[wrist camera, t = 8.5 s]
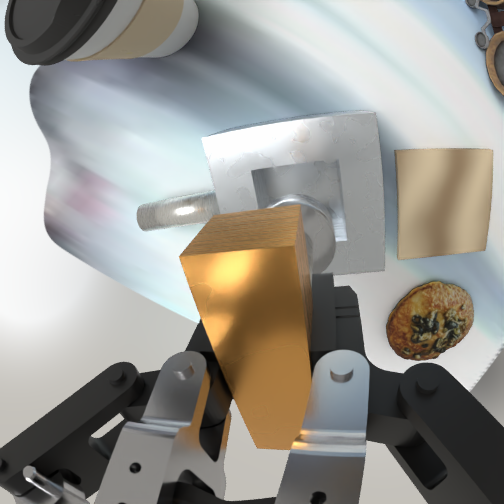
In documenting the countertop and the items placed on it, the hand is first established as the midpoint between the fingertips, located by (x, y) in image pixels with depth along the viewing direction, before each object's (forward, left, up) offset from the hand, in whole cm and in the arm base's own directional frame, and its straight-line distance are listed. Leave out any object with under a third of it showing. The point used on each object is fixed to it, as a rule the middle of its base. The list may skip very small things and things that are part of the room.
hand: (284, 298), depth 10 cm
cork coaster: (-13, +3, -16) cm, 21 cm away
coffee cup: (+9, -17, -16) cm, 25 cm away
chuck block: (+4, 0, -16) cm, 16 cm away
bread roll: (-13, +17, -16) cm, 27 cm away
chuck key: (0, 0, -6) cm, 6 cm away
